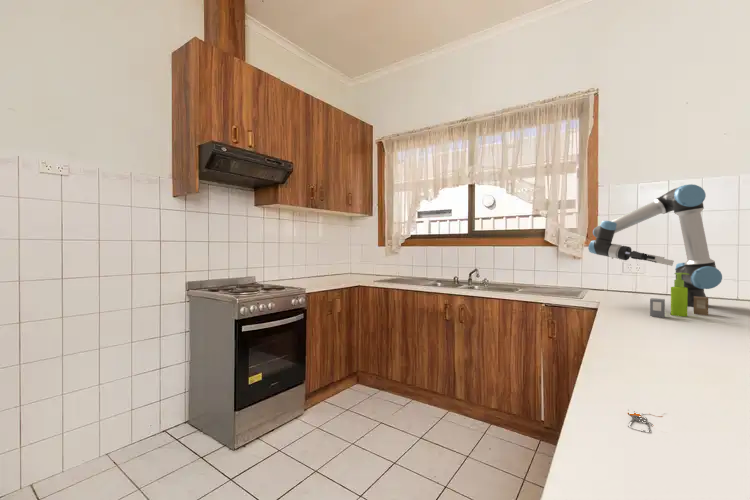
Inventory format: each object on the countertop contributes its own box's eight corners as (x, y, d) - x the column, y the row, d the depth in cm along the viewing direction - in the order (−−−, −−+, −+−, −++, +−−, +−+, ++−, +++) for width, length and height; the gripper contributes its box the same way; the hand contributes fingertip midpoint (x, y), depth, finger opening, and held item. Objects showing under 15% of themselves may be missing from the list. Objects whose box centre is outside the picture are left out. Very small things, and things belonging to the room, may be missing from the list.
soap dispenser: (693, 316, 160) (693, 273, 160) (677, 316, 160) (678, 273, 160) (682, 314, 166) (682, 272, 166) (667, 314, 166) (667, 272, 166)
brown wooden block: (693, 312, 170) (693, 296, 170) (707, 313, 166) (707, 297, 166) (693, 314, 166) (693, 297, 166) (708, 315, 162) (708, 298, 162)
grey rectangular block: (650, 314, 164) (651, 298, 164) (664, 316, 161) (664, 299, 161) (650, 316, 161) (650, 299, 161) (664, 318, 157) (664, 300, 157)
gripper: (627, 261, 196) (674, 271, 178) (608, 256, 182) (656, 266, 164) (631, 248, 195) (678, 257, 177) (612, 242, 181) (661, 250, 163)
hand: (668, 261), depth 171 cm, fingers open, 13 cm apart
